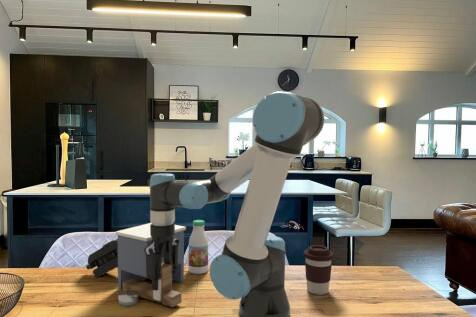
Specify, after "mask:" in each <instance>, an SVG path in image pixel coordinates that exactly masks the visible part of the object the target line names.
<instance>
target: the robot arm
mask: <svg viewBox="0 0 476 317" xmlns="http://www.w3.org/2000/svg"><path fill="white" fill-rule="evenodd" d="M252 125H253V127H254V132H255V133H256V135H255V139H254V143H255V144H253V145H251V147H249V148H248V149H246V150H245V151H244V152H243V153H241V154H240V155H239V156H237V157H236V158H235V159H234V160H232V161H231V162H230V163H228V164H227V165H226V166H224V167H223V168H222V169H220V170H219V171H217V173H216V174H214V175H213V176H212V177H210V178H208V179H201V180H195V181H176V177H175V174H174V173H154V174H151V176H150V179H149V180H150V181H149V183H150V184H149V202H150V203H149V204H150V205H149V207H150V211H149V213H150V215H149V216H150V217H149V220H150V222H149V223H152V224H151V225H150V235H151V237H152V242H151V245H150V246H149V247H148V248H147V247H145V249H144V251H145V254H146V276H147V279H148V280H151V284H152V290H153V299H155V300H158V301H160V300H161V279H159V277H160V270H161V263H162V257H164V263H165V264H169V265H172V283H173V281H174V280H173V274H175V272H176V271H174V270H177V268H178V245H179V239H174V238H173V235H174V234H175V225H176V224H175V221H176V212H175V211H176V207H177V208H183V209H188V210H201V209H202V208H203V207H205V205H207V204H212V203H219V202H222V201H225V200H228V198H229V197H230V196H231V193H232V192H233V191H235V190H236V189H237V188H239V187H240V186H242V185H243V184H245V183H246V182H248V184H247V187H246V191H245V194H244V197H243V201H242V204H241V209H240V212H239V215H238V219H237V222H236V225H235V229H234V232H233V234H232V235H230V236H228V237H227V238H226V239H225V243H224V245H223V249H222V252H221V254H219V255H216V256H215V258H213V259H212V261H211V263H210V265H209V266H210V267H209V277H210V281H211V282H212V285H213V287H214V288H215V290H216V291H217V292H218V293H219V294H220V295H221V296H223V297H224V298H226V299H228V300H238V299H240V301H239V305H238V306H239V309H238V310H239V312H238V314H239V315H240V316H241V317H290V315H291V304H290V302H289V299H288V296H287V291H286V288H285V282H286V281H285V278H286V277H285V272H286V269H285V268H286V252H287V250H286V241H285V240H284V238H282V237H280V236H276V235H270V234H269V233H270V230H271V226H272V223H273V221H274V218H275V214H276V210H277V208H278V205H279V202H280V199H281V195H282V192H283V189H284V186H285V183H286V179H287V176H288V174H289V170H290V166H291V165H292V164H291V163H292V160H294V159H295V158H297V157H299V156H301V153H302V150H303V147H304V146H305V145H307V144H309V143H310V142H311V141H313V140H314V139H316V138H317V137H318V136H319V135H320V133H321V132H322V130H323V128H324V125H325V115H324V110H323V109H322V107H321V106H320V104H319V103H318V102H316V101H315V100H314V99H312V98H310V97H306V96H302V95H297V94H295V93H293V92H287V91H275V92H272V93H269V94H267V95H266V96H263V98H262V99H261V100H260V101H259V102H258V103H257V105H256V106H255V108H254V111H253V114H252ZM157 253H158V254H157ZM147 279H146V280H147Z"/></svg>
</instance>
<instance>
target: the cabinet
mask: <svg viewBox="0 0 476 317" xmlns="http://www.w3.org/2000/svg"><path fill="white" fill-rule="evenodd" d="M151 224H152V223H151V222H148V223H144V224H141V225H138V226H137V225H136V226H133V227H128V228H125V229H120V230H117V231H115V236H117V239H118V268H117V290H120V291H123V282H125V281H127V280H130V279H136V280H139V281H142V282H144V281H146V280H147V276H146V254H145V251H144V249H145V247H147V248H148V247H149V246H150V245H151V242H152V237H151V235H150V225H151ZM186 230H187V226H183V225H177V224H175V234H174V235H173V238H174V239H179V245H178V268H177V270H174V271H176V272H175V274H173V281H175V282H178V283H182V282H184V280H185V275H184V274H185V231H186ZM157 254H158V253H157ZM162 263H164V257H162ZM145 279H146V280H145ZM143 280H144V281H143Z"/></svg>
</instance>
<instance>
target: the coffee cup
mask: <svg viewBox="0 0 476 317" xmlns="http://www.w3.org/2000/svg"><path fill="white" fill-rule="evenodd" d="M303 257H304V258H305V261H304V267H305V268H304V270H305V279H306V290H307V291H308V293H310V294H313V295H318V296H319V295H320V296H321V295H322V296H323V295H326V294H328V293H329V292H330V290H329V289H330V281H331V276H332V274H331V273H332V260H333V259H334V252H332V251H331V250H330V248H329V247H327V246H323V245H316V244H315V245H310V246H308V248H307V249H305V250H304V251H303Z"/></svg>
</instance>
